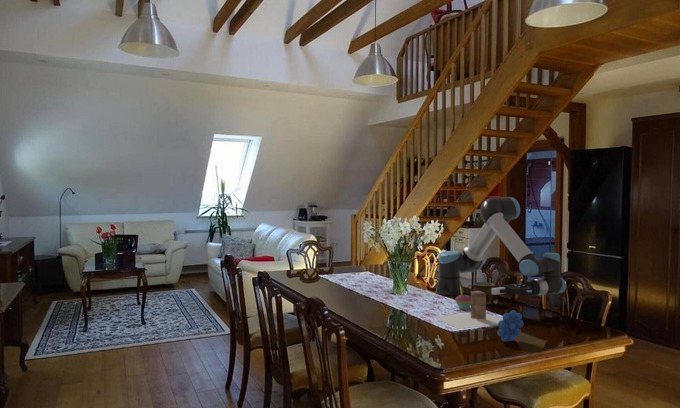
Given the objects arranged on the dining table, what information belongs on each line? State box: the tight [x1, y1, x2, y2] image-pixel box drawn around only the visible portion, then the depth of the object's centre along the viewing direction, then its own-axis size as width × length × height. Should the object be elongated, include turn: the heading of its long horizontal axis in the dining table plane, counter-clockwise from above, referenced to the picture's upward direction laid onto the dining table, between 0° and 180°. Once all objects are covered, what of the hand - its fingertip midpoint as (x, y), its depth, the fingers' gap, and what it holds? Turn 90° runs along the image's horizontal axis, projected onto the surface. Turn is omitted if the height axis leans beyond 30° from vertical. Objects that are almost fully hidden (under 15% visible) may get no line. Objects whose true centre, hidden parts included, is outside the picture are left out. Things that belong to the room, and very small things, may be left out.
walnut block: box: [470, 290, 487, 321], centre depth 216 cm, size 5×4×12 cm
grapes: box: [496, 310, 525, 342], centre depth 186 cm, size 12×7×12 cm, turn 109°
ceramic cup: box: [467, 281, 495, 306], centre depth 248 cm, size 13×10×10 cm
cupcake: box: [454, 286, 471, 310], centre depth 235 cm, size 9×8×12 cm
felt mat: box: [434, 312, 503, 330], centre depth 215 cm, size 20×26×1 cm
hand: (492, 291), depth 218 cm, fingers closed
